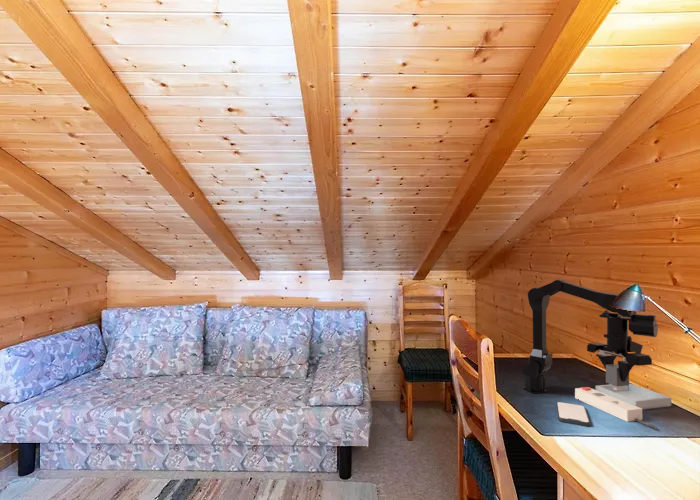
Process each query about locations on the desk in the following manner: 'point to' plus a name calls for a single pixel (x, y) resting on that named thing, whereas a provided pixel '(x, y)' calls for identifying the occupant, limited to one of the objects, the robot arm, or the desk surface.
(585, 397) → the power strip
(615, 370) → the charger
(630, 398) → the tray
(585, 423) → the phone case
